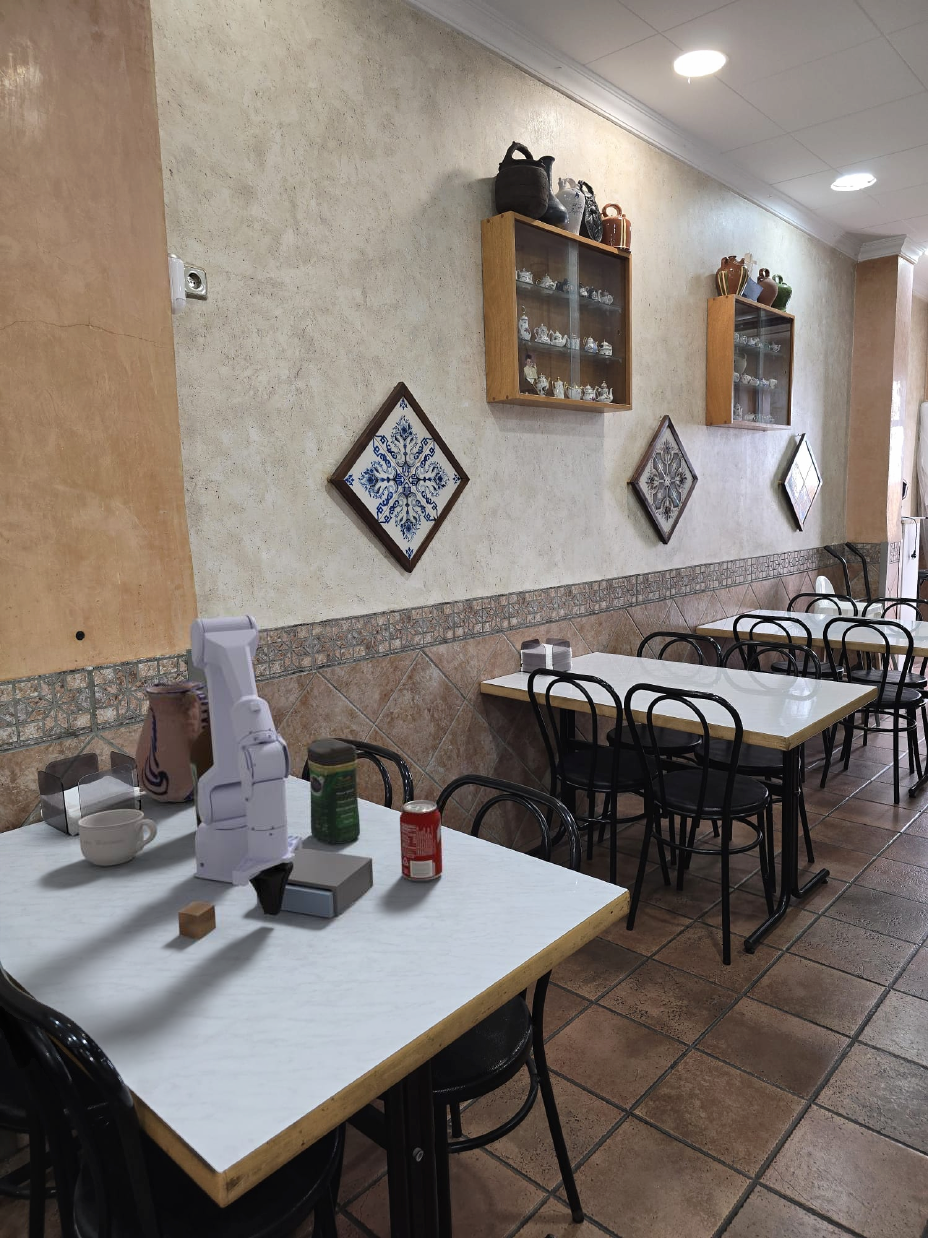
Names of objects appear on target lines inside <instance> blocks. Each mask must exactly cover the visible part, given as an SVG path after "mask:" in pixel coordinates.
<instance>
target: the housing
mask: <svg viewBox="0 0 928 1238" xmlns="http://www.w3.org/2000/svg"><path fill="white" fill-rule="evenodd" d="M292 853H294V854H295V859H293V860H292V861H291V862H293V870H292V872H291V874H290V876H289V878H288V881H287V883H294V884H300V885H306V886H312V887H319V888H325V889H331V892H333V906H334V915H333V916H334V917H335V916H336V917H338V916H340V914H342V913H343V912H345V910H346V909H347V908H349V907H350V906H351V905H352V904H353V903H355V902H356V901H357V900H358V899H360V898H361V896H363V895H364V894H365V893H366V892H368V891H369V890H370V889H371V888H372V887H373V886H374V876H373V875H374V874H373V873H374V872H373V858H372V857H366V856H360V855H359V856H358V855H352V854H345V853H338V852H330V851H325V850H316V849H309V848H303V847H302V848H301V849H300V850H294V851H293V852H292Z"/></svg>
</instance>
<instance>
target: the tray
mask: <svg viewBox="0 0 928 1238" xmlns="http://www.w3.org/2000/svg"><path fill="white" fill-rule="evenodd" d="M256 904H257V906H259V907H261V904H260V901H259V898H258V895H257V894H256ZM281 910H282V911H288V912H294V913H300V914H306V915H311V916H317V917H322V918H329V919H330V918H333V916H335V915H334V906H333V892H331V889H330V891H324V890H317V889H311V888H305V887H299V886H295V884H294V883H287V884H286V887H285V891H284V896H283V901H282V906H281Z"/></svg>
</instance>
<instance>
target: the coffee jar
mask: <svg viewBox="0 0 928 1238" xmlns="http://www.w3.org/2000/svg"><path fill="white" fill-rule="evenodd" d="M357 754H358V753H357V749H356V746H355V745H353V744H350V743H346V742H344V741H341V740H339V739H335V738H333V737H326V738H324V737H323V738H320V739H314V740H312V742H311V743H310V744H309V746H308V748H307V765H308V771H309V779H310V780H309V781H310V782H309V783H310V833H311V835H312V836H313V837H314V838H315V839H316V840H319V841H321V842H323V843H325V844H328V845H329V844H330V845H331V844H340V843H341V844H346V843H349V842H351V841H353V840H355V839H356V838H358V837H359V836H360V834H361V827H360V825H361V824H360V815H359V814H360V811H359V801H358V800H359V799H358V789H357V788H358V787H357V785H358V784H357V767H358V756H357Z"/></svg>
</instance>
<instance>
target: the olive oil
mask: <svg viewBox="0 0 928 1238" xmlns="http://www.w3.org/2000/svg"><path fill="white" fill-rule="evenodd" d="M207 709H208V712H207V721H208V723H207V726H206V727H205V728H204V729H203V731H202V732H201V733H200V734H199V735H198V736H197V738H196V739H195V740H194V742H193V744H192V746H191V750H190V767H191V775H192V783H193V792H194V799H193V800H194V808H195V816H196V817H195V818H196V830H197V829H198V827H199V825H200V824H201V823H202V821H201V819H200V815H199V810H198V800H197V798H198V782H199V779H200V778H201V777H202V776H203V775H204V774H205V773H206V772H207V771H208V770H209V769H210V768H211V767H212V766H213V765H214V760H213V748H212V736H211V723H210V711H209V704H208V705H207ZM239 782H240V781H239ZM233 783H234V782H233ZM227 784H228V783H227ZM222 785H223V784H222Z"/></svg>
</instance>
